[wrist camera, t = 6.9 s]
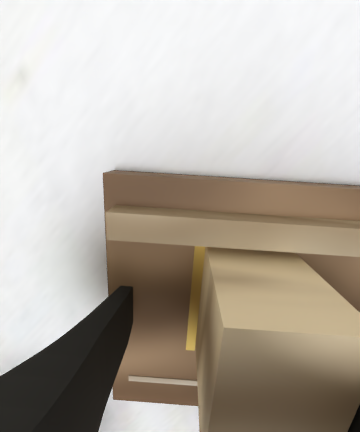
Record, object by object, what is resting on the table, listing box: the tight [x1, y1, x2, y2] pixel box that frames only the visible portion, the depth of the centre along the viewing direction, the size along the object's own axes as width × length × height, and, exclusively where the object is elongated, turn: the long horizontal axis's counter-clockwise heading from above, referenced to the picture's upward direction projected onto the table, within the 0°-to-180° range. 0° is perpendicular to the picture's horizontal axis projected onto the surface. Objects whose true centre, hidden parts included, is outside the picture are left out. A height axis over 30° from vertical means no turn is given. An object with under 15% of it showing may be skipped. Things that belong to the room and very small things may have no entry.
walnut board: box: [103, 170, 360, 406], centre depth 11 cm, size 14×22×3 cm, turn 87°
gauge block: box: [195, 247, 360, 432], centre depth 9 cm, size 10×4×5 cm, turn 177°
